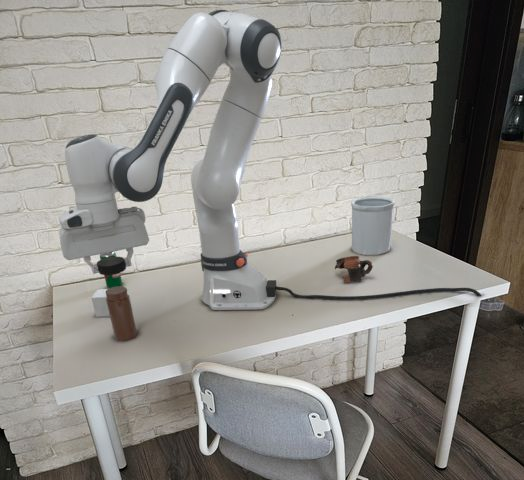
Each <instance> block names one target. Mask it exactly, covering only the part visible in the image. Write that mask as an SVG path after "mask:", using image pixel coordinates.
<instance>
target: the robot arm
mask: <svg viewBox="0 0 524 480" xmlns="http://www.w3.org/2000/svg"><path fill="white" fill-rule="evenodd" d="M281 55H282V37H281V34H280V31H279V29H278V28H277V27H276V26H275V25H273V24H272V23H271V22H270V21H268V20H266V19H262V18H259V17H256V16H254V15H251V14H248V13H245V12H236V11H229V10H226V9H217V10H213V11H210V12H208V13H207V12H203V11H202V12H201V11H199V12H195V13H193V14H192V15H191V16H190V17H189V18H188V19H187V20H186V22H185V23H184V24H183V25H182V26H181V27H180V29H179V31H178V32H177V33H176V34H175V36H174V38H173V39H172V40H171V42H170V43H169V45H168V47H167V49H166V50H165V52H164V54H163V55H162V57H161V60H160V62H159V65H158V67H157V70H156V73H155V77H154V87H155V90H156V95H157V102H156V108H155V111H154V113H153V115H152V117H151V119H150V121H149V123H148V124H147V127H146V129H145V130H144V132H143V134H142V136H141V138H140V140H139V142H138V143H137V145H136V146H135V147H128V146H123V145H119V144H117V143H114V142H111V141H109V140H107V139H104V138H102V137H100V136H99V135H98V134H88V135H82V136H79V137H76V138H74V139H71V140H70V141H69V142H67V144H66V146H65V148H64V159H65V165H66V170H67V175H68V179H69V183H70V185H71V186H72V188H73V191H74V202H75V206H74V207H72V208H70V209H69V210H67V211H64V212H63V213H61V214H59V216H58V221H59V224H60V228H59V231H58V232H59V243H60V244H59V245H60V249H61V253H62V257H63V258H64V259H66V260H67V261H73V260H74V261H75V260H79V259H83V260H84V262H85V263H86V264H87V265H88V266H89V267H90V268H91V272H92V274H93V275H96V274H100V273H99V270H98V269H99V268H98V266H97V263H95V264H94V263H92V256H100V254H104V253H109V252H118V251H122V250H125V251H126V252H127V254H126V256H125V257H123V258H124V261H125V265H126V268H128V267H133V265H132V260H131V259H132V258H133V254H134V248H138V247H143V246H147V245H148V244H149V242H150V237H149V232H148V230H147V227H146V224H145V223H146V214H145V211H144V210H143V209H142V208H141V207H138V206H131V207H123V208H118V203H117V198H116V194H117V193H118V192H119V194H121V196H123V197H124V199H127V200H129V201H130V202H135V203H144V202H148V201H150V200H152V199H153V198H154V197H156V196H157V195H158V193H159V192H160V190H161V188H162V185H163V179H164V172H165V166H166V162H167V160H168V158H169V156H170V154H171V152H172V150H173V148H174V146H175V144H176V142H177V140H178V138H179V136H180V135H181V132H182V130H183V128H184V126H185V125H186V122H187V120H188V119H189V117H190V115H191V114H192V113H193V111H194V109H195V107H197V105H198V103H199V102H200V100H201V99H202V97H203V96H204V94H205V93H206V91H207V90H208V88H209V86H210V85H211V83H212V81H213V79H214V77H215V75H216V73H217V71H218V69H219V68H220V67H221V66H222V65H223V66H225V67H227V68H230V71H229V72H230V76H229V77H230V78H229V82H228V84H227V85H226V87H225V88H226V89H225V90H224V93H223V96H222V98H221V100H220V103H219V106H218V109H217V111H216V113H215V117H214V120H213V122H212V125H211V128H210V131H209V137H208V141H207V144H206V148H205V152H204V156H203V159H200V160H198V162H196V163H195V165H194V166H193V168H192V170H191V173H190V183H191V184H190V185H191V191H192V197H193V203H194V209H195V214H196V221H197V226H198V233H199V241H200V242H199V243H200V251H201V253H200V266H201V269H202V270H201V271H202V272H203V273H202V274H203V287H202V295H201V301H202V302H203V303H204V304H205V305H207V306H209V308H210V309H211V310H212V311H250V310H251V311H252V310H253V311H254V310H255V311H256V310H264V309H266V308H268V307H269V306H271V305H272V304H273V303H274V302H275V300H276V299H277V291H284V292H287V293H289V294H290V296H291V297H294V298H297V299H306V300H307V299H308V300H309V299H322V300H338V301H339V300H341V301H342V300H345V301H347V300H348V301H349V300H350V301H351V300H354V301H355V300H370V299H371V300H372V299H380V298H382V299H383V298H390V297H396V296H397V297H398V296H405V295H413V294H425V293H434V292H469V293H473V294H475V295H476V296H477V297H482V294H481V293H480V292H479V291H478V290H476V289H474V288H471V287H433V288H423V289H412V290H404V291H396V292H388V293H381V294H369V295H355V296H354V295H350V296H345V295H342V296H341V295H322V294H308V295H307V294H306V295H305V294H304V295H303V294H297V293H294V292H293V290H291V289H290V288H288V287H284V286H278V285H277V280H276V279H268V278H267V277H266V275H265V274H264V273H263V272H261V271H260V270H259V269H256V268H255V267H254V266H252V265H251V264H249V263H248V257H249V252H246V253H244V251H242V250H241V248H240V247H241V246H240V235H239V224H238V220H237V215H236V208H235V205H234V204H235V202H236V201H237V199H238V196H239V193H240V187H241V184H242V180H243V176H244V173H245V170H246V166H247V161H248V157H249V154H250V150H251V147H252V145H253V142H254V140H255V138H256V135H257V132H258V130H259V128H260V125H261V122H262V120H263V117H264V114H265V112H266V109H267V105H268V103H269V99H270V95H271V90H272V87H273V86H272V85H273V76H272V74H273V73H274V72H275V69H276V68H277V66H278V64H279V61H280V58H281Z"/></svg>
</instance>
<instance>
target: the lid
mask: <svg viewBox="0 0 524 480" xmlns="http://www.w3.org/2000/svg"><path fill="white" fill-rule="evenodd" d="M124 258H125V257H122V256H116V257H108V258H104V259H101V260H100V259H99V260H98V261H96V264H97V266H98V268H99V269H98V270H99V273H98V274H99V275H101V276H104V275H114V274H118V273H120V274H121V273H123V272H125V271H126V269H127V267H126V265H125V261H124Z"/></svg>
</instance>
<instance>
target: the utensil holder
mask: <svg viewBox="0 0 524 480" xmlns="http://www.w3.org/2000/svg"><path fill="white" fill-rule="evenodd" d="M395 203H396V201H395V199H393V198H391V197H387V196H379V195H378V196H376V195H375V196H373V195H372V196H362V197H358V198H355V199H352V200H351V203H350V206H351V250H352V252H354V253H355V254H359V255H363V256H378V255H383V254H386V253H388V252H389V251H390V248H391V240H392V230H393V218H394V208H395V205H396V204H395Z"/></svg>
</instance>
